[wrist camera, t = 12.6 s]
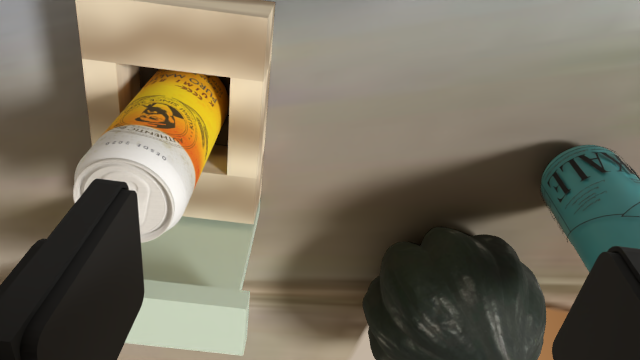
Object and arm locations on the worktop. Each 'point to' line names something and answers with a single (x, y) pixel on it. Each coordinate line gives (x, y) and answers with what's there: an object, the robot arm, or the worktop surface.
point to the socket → (195, 57)
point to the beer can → (159, 146)
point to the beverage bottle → (593, 200)
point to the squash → (455, 301)
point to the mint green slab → (196, 287)
